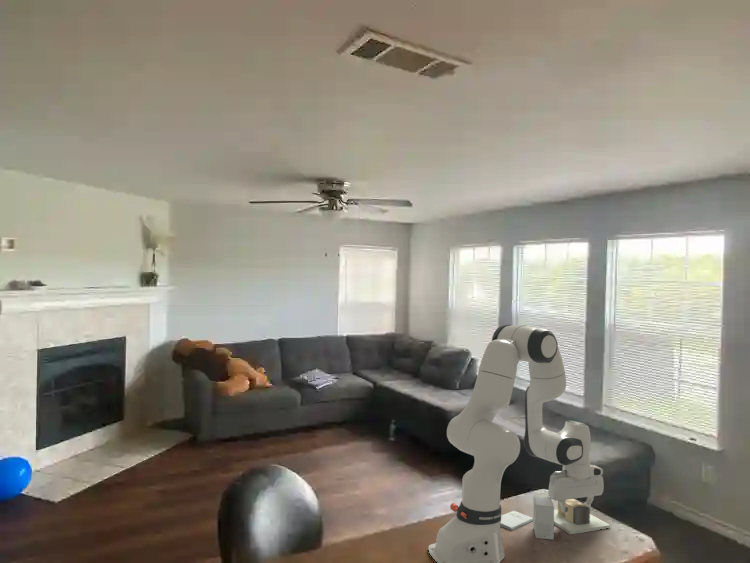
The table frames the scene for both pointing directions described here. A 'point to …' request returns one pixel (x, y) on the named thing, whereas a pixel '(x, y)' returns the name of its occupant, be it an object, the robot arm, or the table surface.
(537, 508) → the small box
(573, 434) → the robot arm
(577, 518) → the maple block
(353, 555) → the table surface
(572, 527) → the sage board
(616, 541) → the table surface
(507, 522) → the external hard drive
